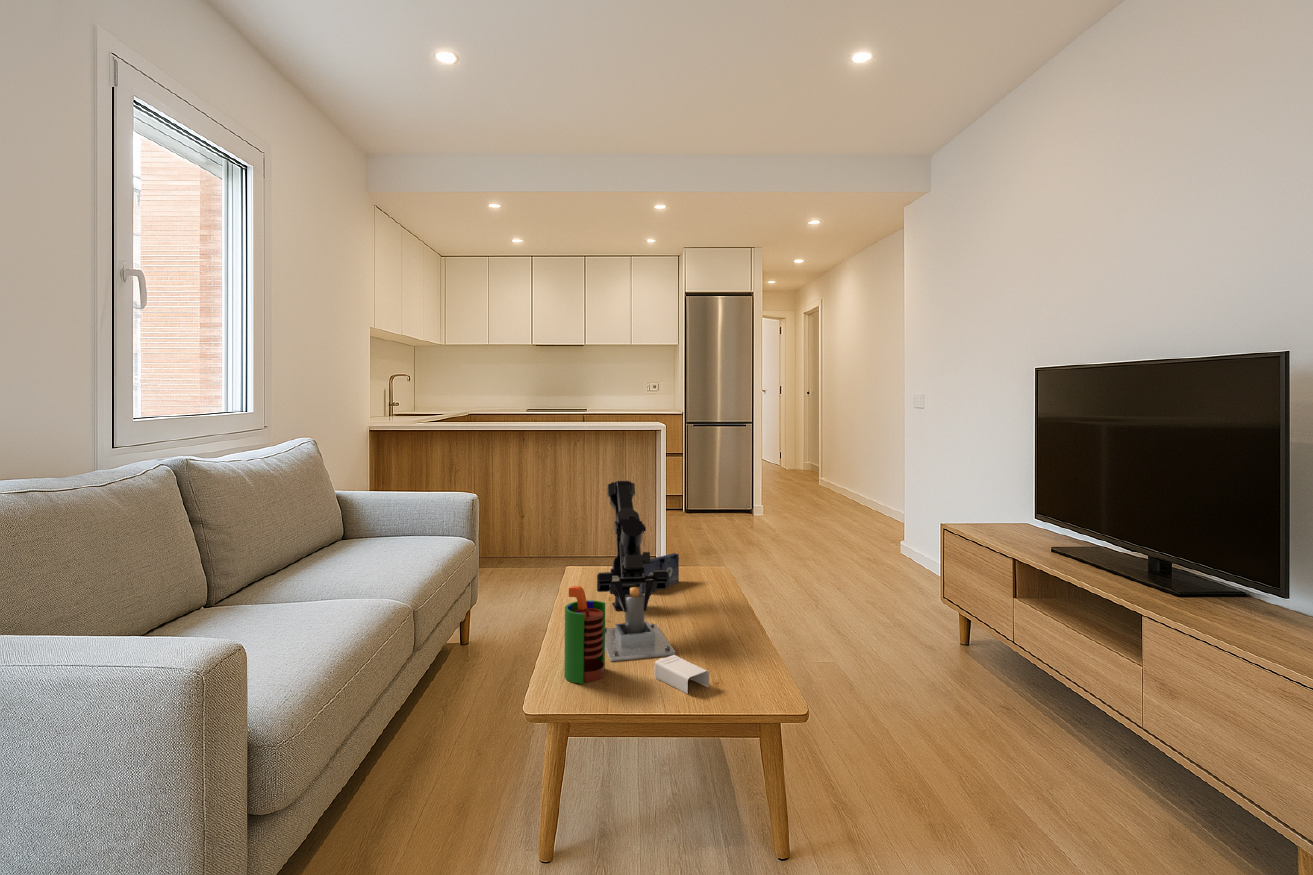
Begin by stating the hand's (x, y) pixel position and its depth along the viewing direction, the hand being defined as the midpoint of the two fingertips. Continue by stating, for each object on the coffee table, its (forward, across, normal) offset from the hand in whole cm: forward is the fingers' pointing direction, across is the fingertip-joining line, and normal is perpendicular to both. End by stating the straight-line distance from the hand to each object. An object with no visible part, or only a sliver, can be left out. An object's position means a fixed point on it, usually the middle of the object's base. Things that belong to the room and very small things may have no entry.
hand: (635, 610), depth 167 cm
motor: (+18, -13, -5) cm, 23 cm away
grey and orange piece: (+4, 0, +6) cm, 7 cm away
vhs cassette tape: (-29, +13, +43) cm, 53 cm away
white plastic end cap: (+23, +8, -10) cm, 26 cm away
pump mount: (+5, 0, +7) cm, 9 cm away
